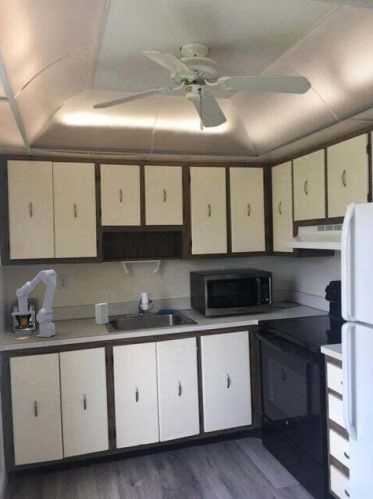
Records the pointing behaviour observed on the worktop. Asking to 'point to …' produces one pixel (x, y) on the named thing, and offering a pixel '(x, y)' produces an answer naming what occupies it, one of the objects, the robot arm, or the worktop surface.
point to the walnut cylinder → (23, 323)
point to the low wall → (23, 333)
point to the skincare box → (101, 313)
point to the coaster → (22, 337)
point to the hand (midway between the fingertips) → (24, 325)
